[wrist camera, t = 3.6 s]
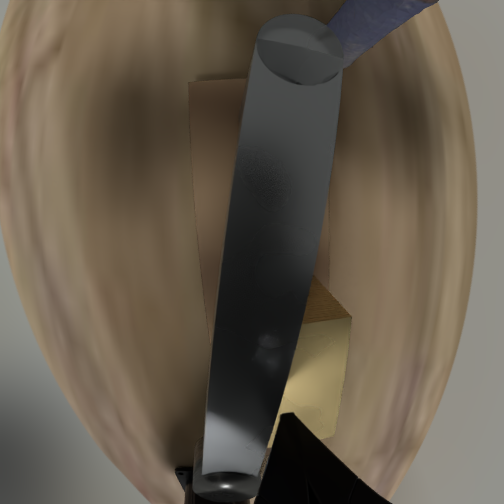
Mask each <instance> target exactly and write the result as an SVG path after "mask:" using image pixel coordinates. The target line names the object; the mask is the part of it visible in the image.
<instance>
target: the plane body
mask: <svg viewBox="0 0 504 504" xmlns="http://www.w3.org/2000/svg"><path fill="white" fill-rule="evenodd" d="M246 80H247V78H241V79H220V80H207V81H196V82H188V85H189V120H190V143H191V162H192V177H193V192H194V205H195V217H196V228H197V239H198V249H199V258H200V268H201V277H202V285H203V294H204V302H205V309H206V317H207V324H208V332H209V339H210V345H211V340H212V330H213V320H214V311H215V302H216V293H217V284H218V276H219V267H220V259H221V251H222V243H223V235H224V228H225V220H226V213H227V205H228V198H229V191H230V184H231V177H232V170H233V163H234V157H235V150H236V144H237V137H238V131H239V125H240V123H239V117H238V116H239V111H240V106H241V102H242V97H243V93H244V88H245V84H246ZM313 275H314V276H315V277H316V278H317V279H318V280H319V281H320V283H321V284H322V285H323V286H324V287H325V288H326V289H327V290H328V289H329V190H328V196H327V202H326V208H325V214H324V220H323V225H322V231H321V236H320V242H319V247H318V252H317V257H316V262H315V267H314V272H313ZM270 451H271V448H267V450H266V453H265V456H268V455H269V454H270Z"/></svg>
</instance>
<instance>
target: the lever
mask: <svg viewBox="0 0 504 504" xmlns="http://www.w3.org/2000/svg"><path fill="white" fill-rule="evenodd" d="M343 61H344V54H343V49H342V45H341V43H340V41H339V39H338V38H337V36H336V35H335V34H334V32H333V31H332V30H331V29H330V28H329V27H327V26H326V25H325V24H323V23H322V22H320V21H318V20H316V19H314V18H312V17H309V16H305V15H300V14H285V15H280V16H277V17H274V18H272V19H270V20H269V21H267V22H266V23H265V24H264V25H263V26H262V27H261V29H260V30H259V32H258V35H257V39H256V43H255V47H254V51H253V55H252V59H251V63H250V67H249V71H248V75H247V80H246V84H245V88H244V93H243V97H242V102H241V106H240V111H239V116H238V117H239V123H240V125H239V131H238V137H237V144H236V150H235V157H234V163H233V170H232V177H231V184H230V191H229V198H228V205H227V213H226V220H225V228H224V235H223V243H222V251H221V259H220V267H219V276H218V284H217V293H216V302H215V311H214V320H213V330H212V340H211V350H210V360H209V371H208V382H207V394H206V406H205V419H204V433H203V437H202V438H201V439H199V440H198V441H197V442H196V444H195V450H194V467H193V491H194V492H195V493H196V494H197V495H198V496H200V497H202V498H204V499H207V500H211V501H216V502H239V501H244V500H248V499H251V498H253V497H255V496H257V492H258V489H259V486H260V483H261V475H260V467H261V464H262V461H263V459H264V456H265V453H266V450H267V446H268V443H269V440H270V437H271V434H272V431H273V428H274V424H275V421H276V418H277V415H278V411H279V408H280V404H281V401H282V398H283V394H284V391H285V387H286V383H287V380H288V376H289V373H290V369H291V365H292V361H293V357H294V354H295V350H296V346H297V342H298V338H299V334H300V330H301V326H302V321H303V317H304V313H305V308H306V304H307V300H308V295H309V291H310V286H311V281H312V277H313V272H314V267H315V262H316V257H317V252H318V247H319V242H320V236H321V231H322V225H323V220H324V214H325V208H326V202H327V196H328V190H329V183H330V177H331V170H332V163H333V156H334V148H335V141H336V133H337V124H338V116H339V106H340V97H341V86H342V74H343Z"/></svg>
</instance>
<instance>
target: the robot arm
mask: <svg viewBox="0 0 504 504" xmlns="http://www.w3.org/2000/svg"><path fill="white" fill-rule="evenodd" d="M175 474H176V476H177V478H178V480H179V482H180V484H181V486H182V488H183V489H184V491H185V503H184V504H250V499H248V500H244V501H239V502H216V501H211V500H207V499H204V498H202V497H200V496H198V495H197V494H196V493H195V492H194V491H193V468H176V469H175ZM254 504H392V503H390V502H389V501H388V500H386V499H385V498H383V497H382V496H380V495H379V494H378V493H376V492H375V491H374V490H373V489H371V488H370V487H369V486H368V485H367V484H366V483H364V482H363V481H362V480H361V479H360V478H358V476H357V475H356V474H354V473H353V472H352V471H351V470H350V469H349V468H348V467H347V466H346V465H345V464H344V463H343V462H342V461H341V460H340V459H339V458H338V457H337V456H335V455H334V454H333V453H332V452H331V451H330V450H329V449H328V448H327V447H326V446H325V445H324V444H323V443H322V442H321V441H320V440H319V439H318V438H317V437H316V436H315V435H314V434H313V433H312V432H311V431H310V429H309V428H308V427H307V426H306V425H305V424H304V423H303V422H302V421H301V420H300V419H299V418H298V417H297V416H296V415H295V413H294V412H286V413H281V414H280V415H279V423H278V426H277V430H276V434H275V437H274V441H273V444H272V447H271V451H270V454H269V458H268V461H267V464H266V467H265V471H264V474H263V477H262V480H261V483H260V486H259V489H258V492H257V496H256V498H255V501H254Z"/></svg>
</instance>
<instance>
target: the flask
mask: <svg viewBox="0 0 504 504" xmlns="http://www.w3.org/2000/svg"><path fill="white" fill-rule="evenodd" d="M438 1H439V0H346V2H345V3H344V4H343V5H342V7H341V8H340V9H339V11H338V12H337V13H336V14H335V15H334V17H333V18H332V19H331V20H330V22H329V23H328V24H327V25H326V26H327V27H329V28H330V29H331V30H332V31H333V32H334V34H335V35H336V36H337V38H338V39H339V41H340V43H341V45H342V49H343V54H344V61H343V69H344V68H346V67H348V66H350V65H351V64H352V63H353V62H354V61H355V59H357V58H358V57H359V56H360V55H362V54H363V53H364V52H365V51H367V50H368V49H369V48H371V47H372V48H373V45H375V44H376V43H377V42H378V41H379V40H381V39H382V38H384V37H385V36H386V35H387V34H388V33H390V32H391V31H392V30H395V29H396V28H397V27H399V26H400V25H401V24H403V23H404V22H406V21H407V20H408V19H410V18H411V17H413V16H414V15H416V14H418V13H420V12H421V11H422V10H423V9H425V8H427V7H429V6H431V5H433V4H435V3H437V2H438Z"/></svg>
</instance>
